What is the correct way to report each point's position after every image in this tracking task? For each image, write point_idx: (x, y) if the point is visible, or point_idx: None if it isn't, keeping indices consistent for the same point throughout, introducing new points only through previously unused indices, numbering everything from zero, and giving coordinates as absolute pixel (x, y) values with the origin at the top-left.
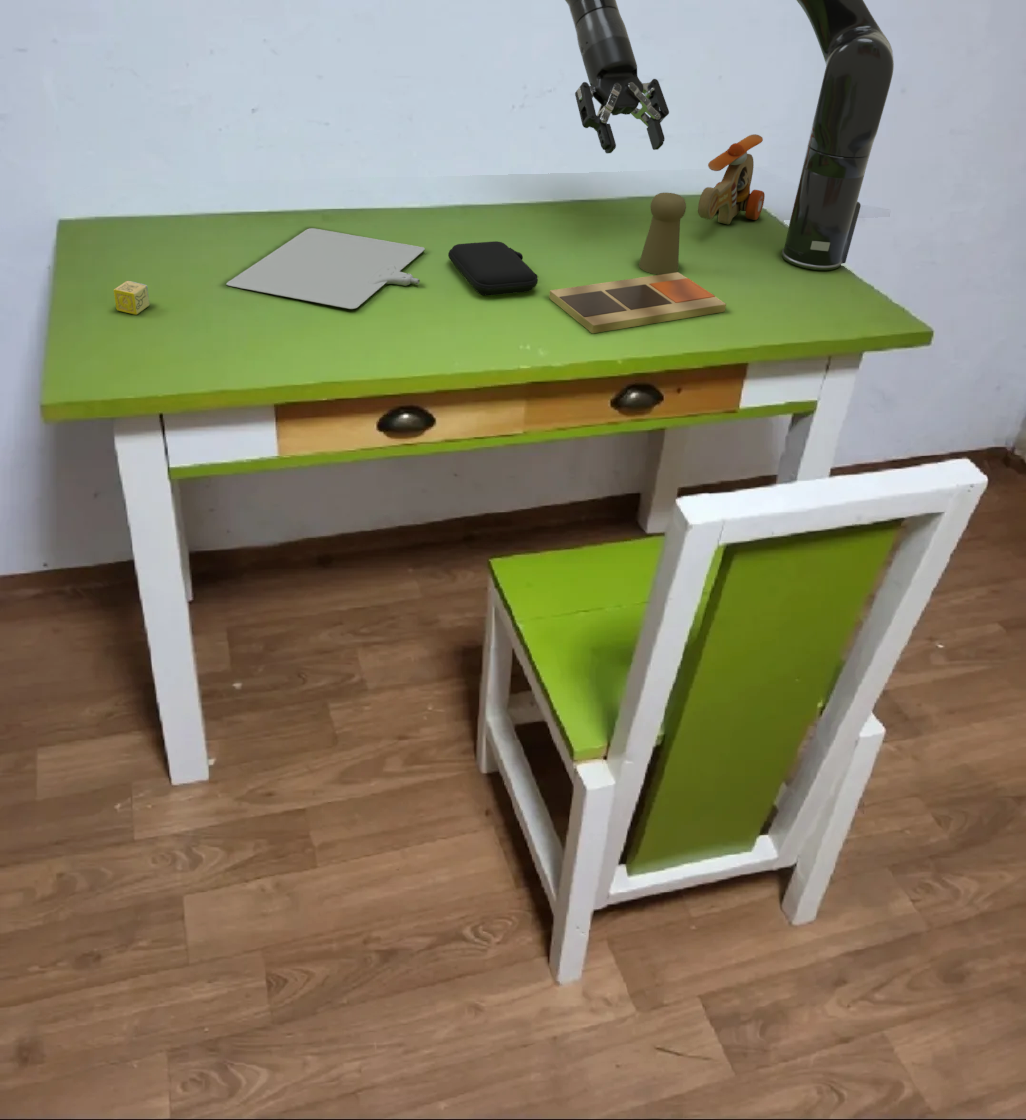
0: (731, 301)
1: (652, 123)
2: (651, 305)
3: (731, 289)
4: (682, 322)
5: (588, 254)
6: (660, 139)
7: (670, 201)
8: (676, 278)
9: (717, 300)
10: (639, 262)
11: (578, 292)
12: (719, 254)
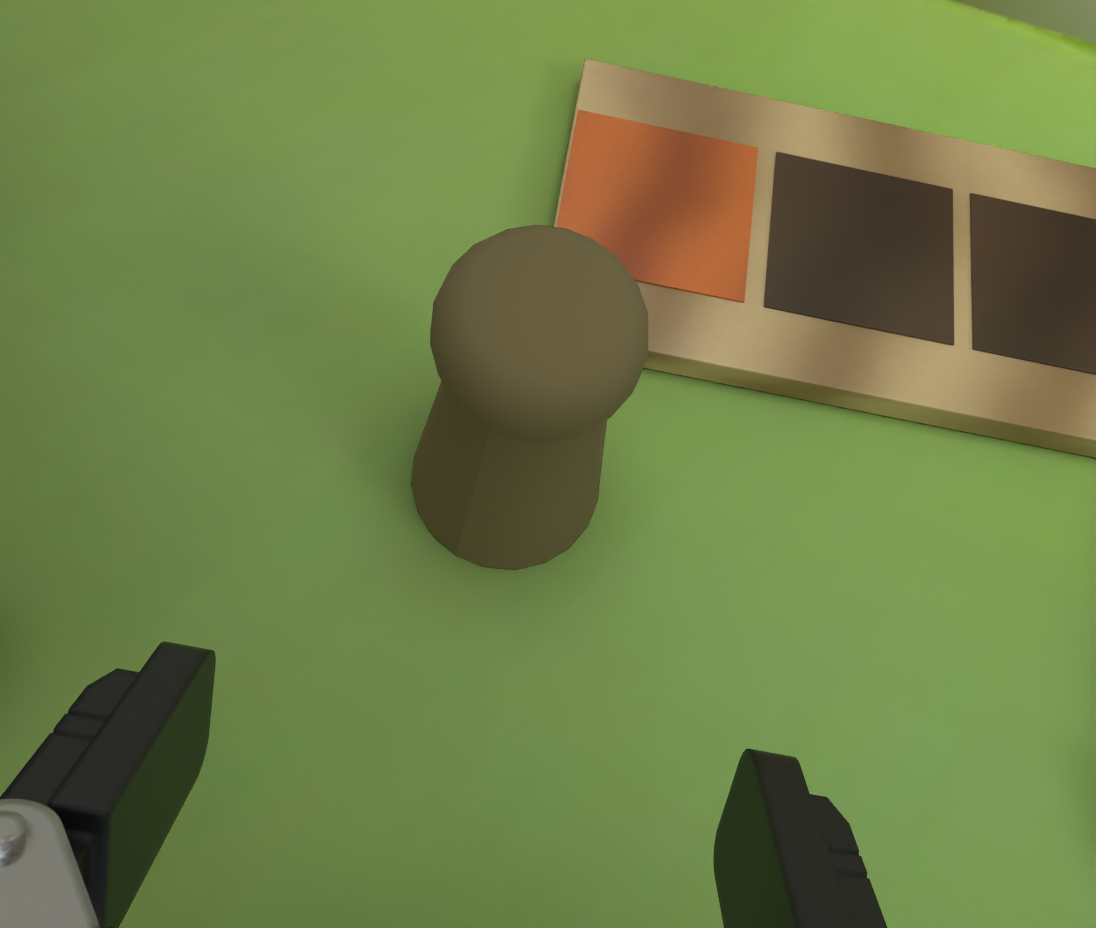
0: (484, 119)
1: (117, 829)
2: (862, 173)
3: (391, 181)
4: None
5: (721, 772)
6: (183, 660)
7: (599, 251)
8: None
9: (594, 88)
10: (570, 543)
11: (1064, 384)
12: (89, 449)
